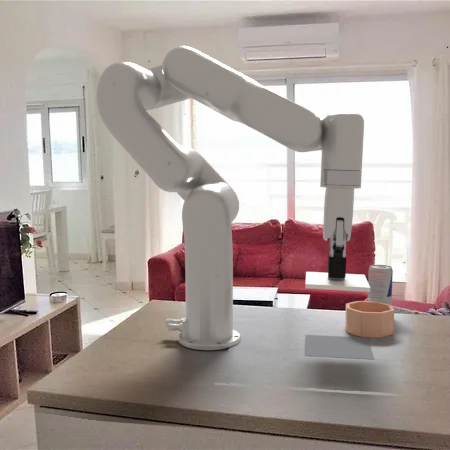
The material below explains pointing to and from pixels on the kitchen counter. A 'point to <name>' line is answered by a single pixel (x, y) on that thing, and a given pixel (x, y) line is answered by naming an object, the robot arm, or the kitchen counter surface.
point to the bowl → (369, 319)
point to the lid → (337, 282)
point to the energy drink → (380, 284)
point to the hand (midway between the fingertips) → (336, 274)
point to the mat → (338, 347)
